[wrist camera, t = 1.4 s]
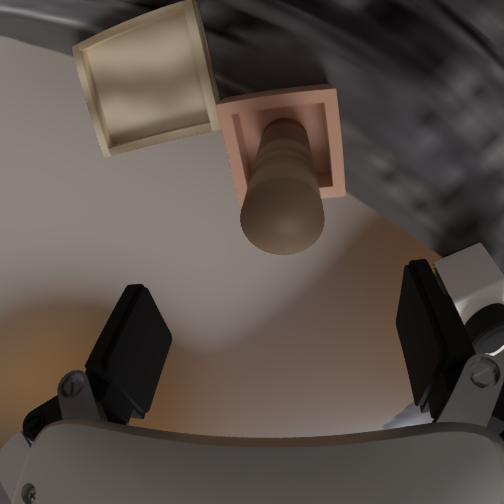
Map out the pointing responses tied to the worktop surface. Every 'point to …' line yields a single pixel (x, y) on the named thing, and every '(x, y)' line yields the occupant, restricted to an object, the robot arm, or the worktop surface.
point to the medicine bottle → (475, 295)
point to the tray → (149, 79)
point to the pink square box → (285, 106)
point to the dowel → (283, 192)
